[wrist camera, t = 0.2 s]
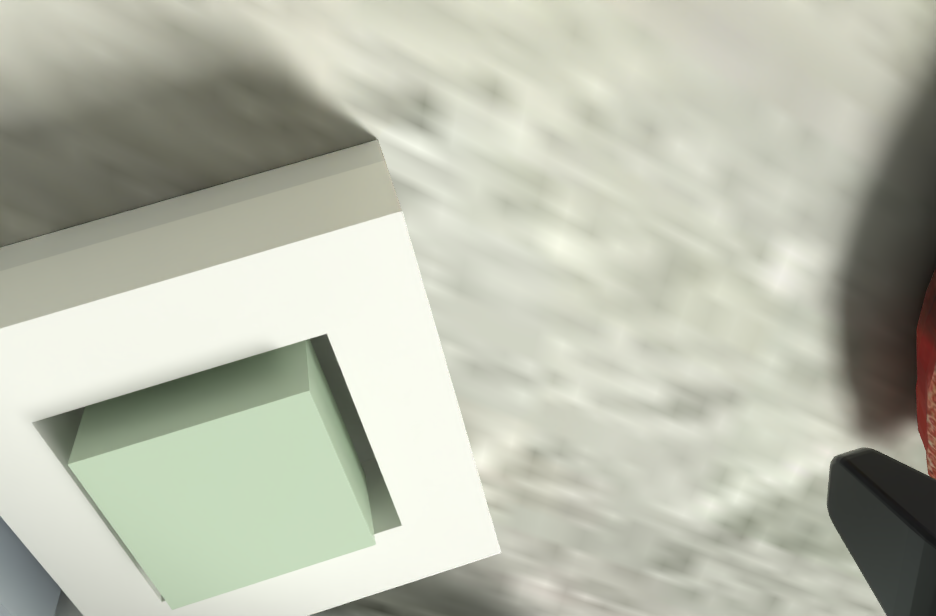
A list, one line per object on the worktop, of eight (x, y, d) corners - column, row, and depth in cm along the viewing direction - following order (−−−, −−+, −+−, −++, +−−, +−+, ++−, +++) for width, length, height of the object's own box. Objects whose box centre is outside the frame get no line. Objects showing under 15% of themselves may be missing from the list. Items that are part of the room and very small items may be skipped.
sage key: (365, 474, 23) (375, 544, 21) (181, 532, 23) (172, 609, 21) (304, 326, 20) (309, 390, 18) (89, 390, 20) (67, 464, 17)
